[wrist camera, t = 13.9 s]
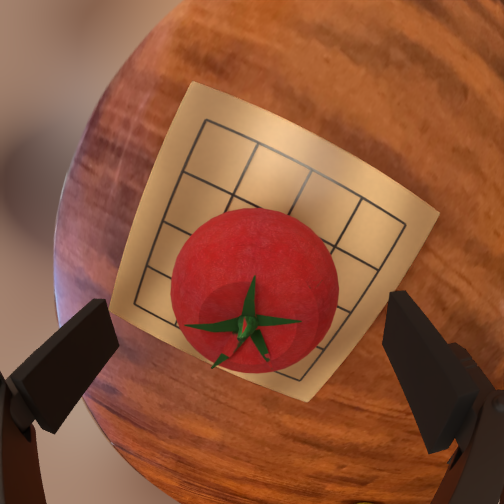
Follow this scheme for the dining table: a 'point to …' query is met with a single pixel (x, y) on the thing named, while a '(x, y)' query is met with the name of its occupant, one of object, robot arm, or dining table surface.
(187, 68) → the dining table surface
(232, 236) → the tomato
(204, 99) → the board
